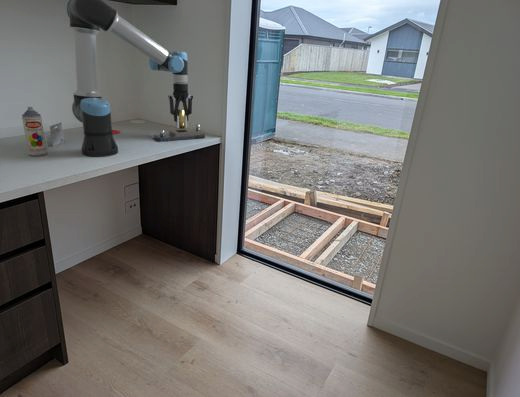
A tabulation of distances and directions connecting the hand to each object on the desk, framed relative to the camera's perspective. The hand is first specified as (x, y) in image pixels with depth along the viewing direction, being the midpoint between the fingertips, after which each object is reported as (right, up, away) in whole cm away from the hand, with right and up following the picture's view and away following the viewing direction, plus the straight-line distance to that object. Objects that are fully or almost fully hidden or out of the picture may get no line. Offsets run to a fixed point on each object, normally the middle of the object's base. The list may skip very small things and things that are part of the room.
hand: (181, 127), depth 199 cm
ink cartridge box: (-55, -14, -25) cm, 62 cm away
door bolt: (0, -6, +2) cm, 6 cm away
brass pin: (0, 0, 0) cm, 0 cm away
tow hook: (-41, -2, +5) cm, 41 cm away
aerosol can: (-52, -21, -43) cm, 71 cm away
